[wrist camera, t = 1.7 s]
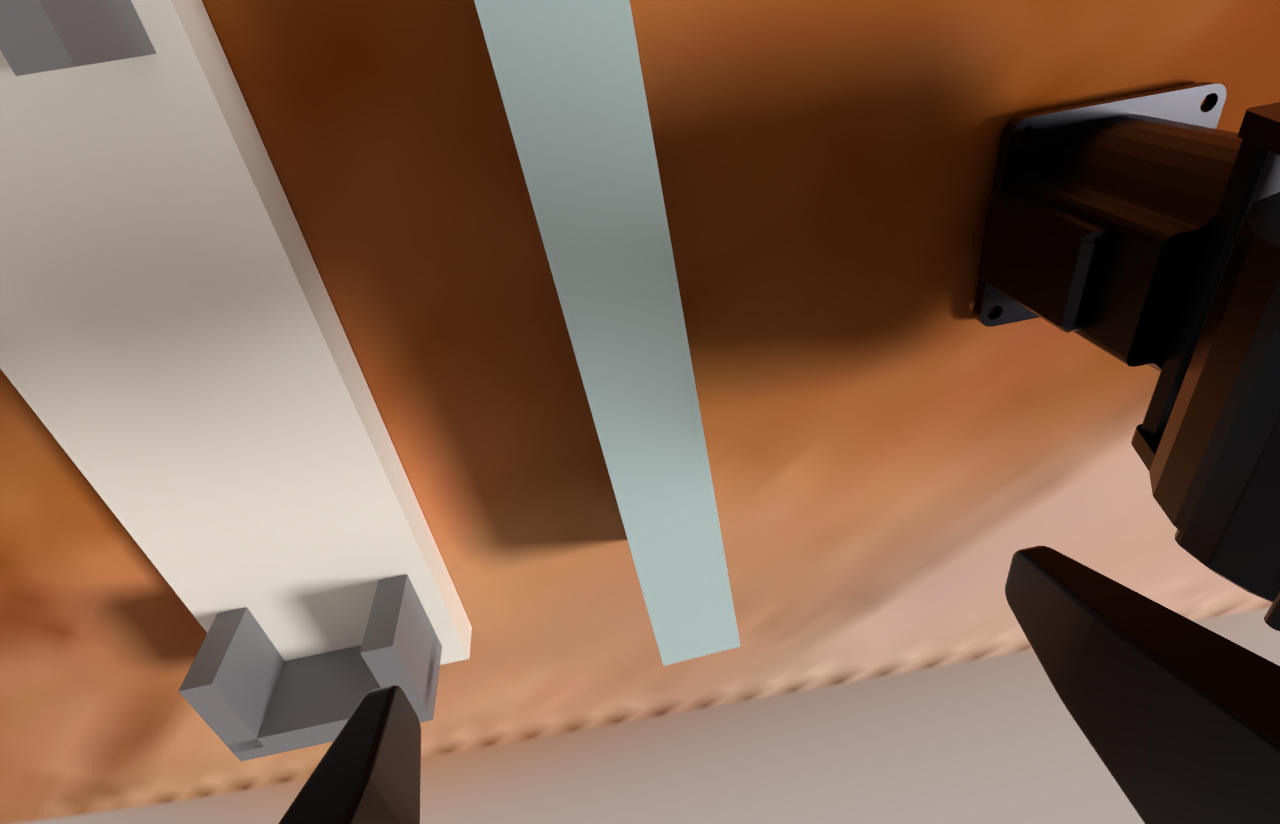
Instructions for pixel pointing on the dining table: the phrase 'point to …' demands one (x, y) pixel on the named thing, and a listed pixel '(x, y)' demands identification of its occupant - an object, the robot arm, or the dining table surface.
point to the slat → (618, 293)
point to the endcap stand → (207, 372)
